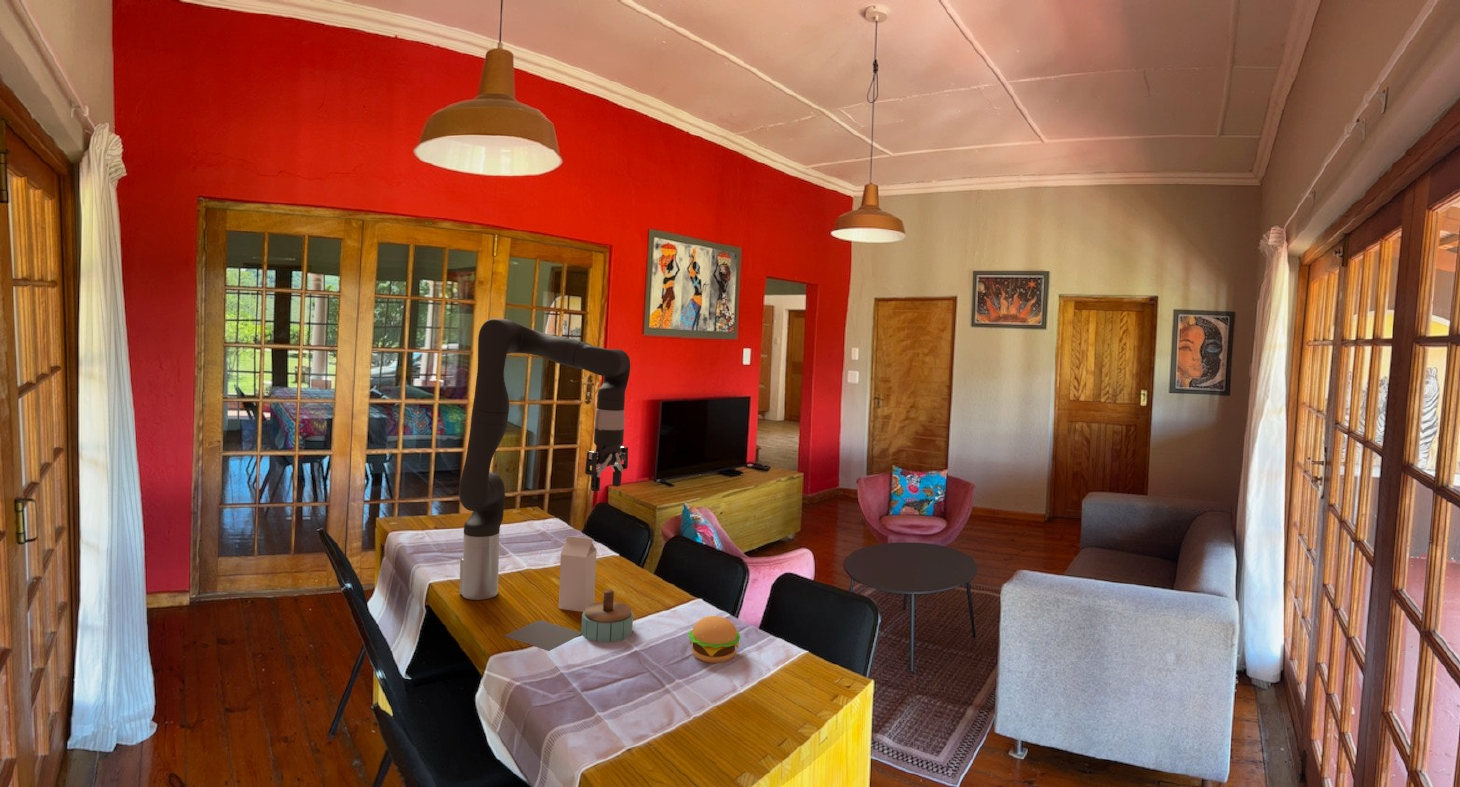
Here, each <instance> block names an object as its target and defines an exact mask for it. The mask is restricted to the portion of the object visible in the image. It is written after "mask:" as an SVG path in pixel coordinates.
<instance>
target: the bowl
mask: <svg viewBox="0 0 1460 787" xmlns="http://www.w3.org/2000/svg"><path fill="white" fill-rule="evenodd" d="M633 623H634V612H633V611H632V610H631V615H630V617H629V618H627V619H625V620H623V621H619V622H613V623H602V622H595V621H592V620H589V619H588V618H586V616H585V610H584V612H582V614H581V629H580V630H581V631H580V632H581V636H583V637H584V638H585V639H586V640H589V641H593V642H598V643H613V642H621V641H623V640H626V639H627V638H629V637H631V636H632V633H633Z"/></svg>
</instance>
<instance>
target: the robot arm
mask: <svg viewBox="0 0 1460 787" xmlns="http://www.w3.org/2000/svg"><path fill="white" fill-rule="evenodd" d="M509 354H526V355H527V354H529V355H535V356H538V357H542V358H544V359H546V360H549V361H551V362H553V363H556V364H560V365H563V366H566V367H570V368H574V369H579V370H584V371H586V372H590V373H592V374H595V375H597V376H600V377H601V376H602V377H603V381H602V385H600V387H599V389H598V391H597V399H596V412H595V416H594V417H595V418H594V434H593V444H595V446H596V449H595V451H594V450H587V453H586V460H585V470H584V474H585V475H587V476H590V489H591V491H592V492H595V493H598V492H600V490H601V488H600V487H601V475H602V472H603V471H605V470H606V468H607V467H609V466H611V468H612V470H613V471H612V486H613V487H620V486H621V485H622V473H623V472H624V471H625V470H627V469H628V467H629V466H628V464H629V447H627V446H623V445H624V436H625V421H626V420H625V402H626V389H627V386H628V383H629V379H630V372H631V360H630V356H629V354H628V353H627V352H626V351H624V350H623V349H620V348H619V349H618V348H617V349H616V348H614V349H613V348H612V349H611V348H610V349H609V348H604V347H599V346H594V345H592V344H591V343H588V342H586V341H580V340H577V339H572V338H568V337H564V336H558V335H553V334H549V333H548V334H547V333H544V332H541V331H538V330H535V329H532V328H530V327H528V326H525V325H523V324H521V323H519V322H516V321H514V320H511V319H507V318H491V319H488V320H486V321H484V322H483V323H482V325H481V327H480V329H479V332H478V338H477V370H476V371H477V374H476V380H475V387H474V398H473V404H472V408H471V416H470V426H469V427H470V428H469V437H468V442H467V448H466V450H467V451H466V457H465V460H464V461H465V462H464V465H463V469H462V474H461V478H460V481H459V486H458V498H459V501H460V504H461V506H462V507H463V508H464V509H465V510H467V511H471V512H472V513H471V515H470V516H469V517H468V519H466V521H465V522H464V524H463V547H462V548H463V551H462V552H463V553H462V555H463V557H462V558H461V559H460V560H459V562H460V567H459V594H460V595H461V596H462V598H464V599H467V600H472V601H483V600H488V599H492V598H494V597H496V596H497V595H498V593H499V592H498V591H499V571H500V570H499V566H500V565H499V564H500V562H499V561H500V530H501V524H502V523H503V519H504V511H505V498H506V493H505V492H506V490H505V489H506V488H505V484H504V481H503V479H502V478H501V477H500V475H499V474H497V473H496V472H491V471H490V469H491V464H492V461H493V457H494V456H495V453H496V452H497V449H498V447H499V445H500V444H501V442H502V440H503V437H504V436H505V433H506V430H507V428H508V420H509V411H510V400H509V399H510V398H509V394H508V390H507V387H506V382H505V366H506V359H507V355H509Z"/></svg>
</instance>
